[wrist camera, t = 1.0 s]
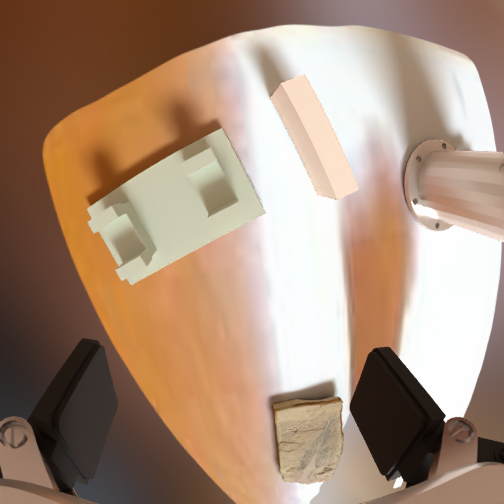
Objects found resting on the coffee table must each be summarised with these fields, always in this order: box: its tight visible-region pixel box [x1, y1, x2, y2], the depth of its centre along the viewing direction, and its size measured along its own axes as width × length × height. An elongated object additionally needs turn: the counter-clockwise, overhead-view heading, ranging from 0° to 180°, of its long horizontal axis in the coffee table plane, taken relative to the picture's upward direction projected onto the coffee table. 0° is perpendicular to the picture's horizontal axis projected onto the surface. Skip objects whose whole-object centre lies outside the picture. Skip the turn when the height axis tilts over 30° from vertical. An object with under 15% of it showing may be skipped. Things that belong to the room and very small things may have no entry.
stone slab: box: [273, 396, 344, 484], centre depth 42 cm, size 12×4×30 cm
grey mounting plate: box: [87, 128, 265, 285], centre depth 27 cm, size 17×10×6 cm, turn 116°
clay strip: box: [270, 75, 359, 200], centre depth 27 cm, size 12×2×6 cm, turn 26°
